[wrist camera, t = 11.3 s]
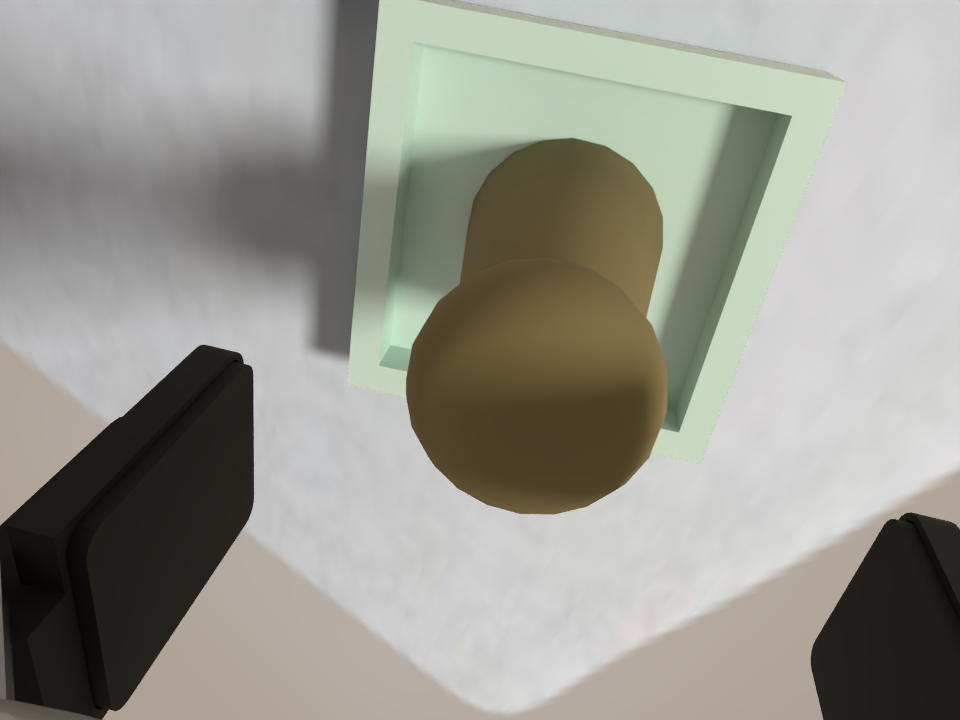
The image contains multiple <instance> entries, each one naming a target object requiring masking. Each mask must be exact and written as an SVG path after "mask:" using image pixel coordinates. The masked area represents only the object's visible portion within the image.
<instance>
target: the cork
mask: <svg viewBox="0 0 960 720" xmlns="http://www.w3.org/2000/svg"><path fill="white" fill-rule="evenodd" d="M662 249H663V216H662V213H661V210H660V207H659V204H658V201H657V198H656V195H655V192H654V189H653V187H652V186H651V185H650V184H649V182H648V181H647V180H646V179H645V177H644V176H643V175H642V174H641V172H640V171H639V170H638V169H637V167H636V166H635V165H634V164H633V163H632V162H630V161H629V160H627V159H626V158H624V157H623V156H621V155H620V154H618V153H616V152H615V151H613V150H612V149H610V148H609V147H607V146H604V145H600V144H596V143H592V142H588V141H584V140H580V139H576V138H569V139H556V140H543V141H540V142H537V143H535V144H532V145H530V146H528V147H525V148H523V149H521V150H518V151H516V152H513V153H512V154H510V155H509V156H508V157H507V158H506V159H505V160H504V161H502V162H501V163H500V164H499V165H498V166H497V167H496V168H494V169H493V170H492V171H491V172H490V173H489V174H488V176H487V177H486V179H485V181H484V182H483V184H482V186H481V188H480V189H479V191H478V193H477V194H476V196H475V198H474V200H473V205H472V210H471V214H470V219H469V224H468V229H467V236H466V243H465V250H464V257H463V264H462V271H461V278H460V284H459V285H458V286H456V287H455V288H454V289H453V290H451V291H450V292H449V293H448V294H446V295H445V296H444V297H443V298H441V299H440V300H439V301H438V302H437V304H436V305H435V307H434V309H433V310H432V312H431V314H430V315H429V317H428V319H427V320H426V322H425V324H424V325H423V327H422V329H421V330H420V332H419V334H418V335H417V337H416V339H415V341H414V342H413V344H412V349H411V355H410V360H409V366H408V371H407V377H406V398H407V403H408V409H409V414H410V420H411V425H412V428H413V430H414V432H415V434H416V435H417V437H418V439H419V441H420V443H421V444H422V446H423V448H424V450H425V452H426V453H427V455H428V457H429V458H430V460H431V461H432V463H433V464H434V466H435V467H436V468H437V469H438V470H439V471H440V472H442V473H443V474H444V475H445V476H446V477H447V478H448V479H449V480H450V481H451V482H452V483H453V484H454V485H455V486H456V487H457V488H458V489H460V490H462V491H463V492H465V493H467V494H469V495H471V496H472V497H474V498H476V499H478V500H479V501H481V502H483V503H485V504H487V505H490V506H493V507H497V508H501V509H505V510H508V511H512V512H516V513H519V514H558V513H562V512H566V511H570V510H574V509H578V508H583V507H587V506H589V505H590V504H592V503H594V502H596V501H597V500H599V499H601V498H603V497H604V496H606V495H608V494H610V493H611V492H613V491H615V490H616V489H618V488H620V487H621V486H623V485H624V484H626V483H627V481H628V480H629V479H630V478H631V477H632V476H633V475H634V474H635V473H636V472H637V470H638V469H639V468H640V467H641V466H642V465H643V464H644V463H645V462H646V461H647V459H648V458H649V456H650V454H651V451H652V449H653V446H654V444H655V441H656V439H657V436H658V434H659V431H660V429H661V426H662V424H663V421H664V418H665V416H666V413H667V368H666V362H665V358H664V356H663V353H662V350H661V348H660V345H659V342H658V340H657V337H656V334H655V332H654V329H653V326H652V324H651V323H650V322H649V321H648V320H647V318H646V317H647V312H648V308H649V304H650V300H651V295H652V291H653V287H654V283H655V279H656V274H657V270H658V266H659V262H660V258H661V253H662Z"/></svg>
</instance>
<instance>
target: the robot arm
mask: <svg viewBox="0 0 960 720" xmlns="http://www.w3.org/2000/svg"><path fill="white" fill-rule="evenodd" d="M253 502H254V427H253V370H252V367H251V366H250V365H246V364H244V362H243V358H242V355H241V354H239V353H237V352H233V351H229V350H225V349H220V348H216V347H212V346H208V345H200V346H199V347H197V348H196V349H195V350H194V351H193V352H191V353H190V354H189V355H188V356H187V357H186V358H185V359H184V360H183V361H182V362H181V363H180V364H179V365H178V366H176V367H175V368H174V369H173V370H172V371H171V372H170V373H169V374H168V375H167V376H166V377H165V378H164V379H163V380H161V381H160V382H159V383H158V384H157V385H156V386H155V387H154V388H153V389H152V390H151V391H150V392H149V393H148V394H146V395H145V396H144V397H143V398H142V399H141V400H140V401H139V402H138V403H137V404H136V405H135V406H134V407H133V408H131V409H130V410H129V411H128V412H127V413H126V414H125V415H124V416H123V417H119V418H118V419H116V420H115V421H114V422H112V423H111V424H110V425H109V426H107V427H106V428H105V429H104V430H103V431H102V432H101V433H100V434H99V435H98V436H97V437H96V438H95V439H93V440H92V441H91V442H90V443H89V444H88V445H87V446H86V447H85V448H84V449H83V450H82V451H80V453H78V454H77V455H76V456H75V457H74V458H73V459H72V460H71V461H70V462H69V463H68V464H67V465H66V466H64V467H63V468H62V469H61V470H60V471H59V472H58V473H57V474H56V475H55V476H53V477H52V478H51V479H50V480H49V481H48V482H47V483H46V484H45V485H44V486H43V487H42V488H40V489H39V490H38V491H37V492H36V493H35V494H34V495H33V496H32V497H31V498H30V499H29V500H27V501H26V502H25V503H24V504H23V505H22V506H21V507H20V508H19V509H18V510H17V511H16V512H15V513H13V514H12V515H11V516H10V517H9V518H8V519H7V520H6V521H5V522H4V523H3V524H2V525H1V526H0V720H102V719H103V717H104V716H105V714H106V713H107V711H108V710H109V709H110V710H113V711H117V710H119V709H121V708H122V707H123V706H124V705H125V704H126V702H127V701H128V700H129V698H130V697H131V695H132V694H133V692H134V691H135V689H136V688H137V686H138V685H139V683H140V682H141V680H142V678H143V677H144V676H145V674H146V673H147V671H148V670H149V668H150V667H151V665H152V664H153V662H154V661H155V659H156V658H157V656H158V655H159V653H160V651H161V650H162V649H163V647H164V645H165V644H166V643H167V641H168V640H169V638H170V636H171V635H172V634H173V632H174V631H175V629H176V628H177V626H178V625H179V623H180V621H181V620H182V619H183V617H184V616H185V614H186V613H187V611H188V610H189V608H190V607H191V605H192V604H193V602H194V601H195V599H196V598H197V596H198V595H199V593H200V592H201V590H202V589H203V587H204V585H205V584H206V583H207V581H208V580H209V578H210V577H211V575H212V574H213V572H214V571H215V569H216V567H217V566H218V565H219V563H220V562H221V560H222V559H223V557H224V556H225V554H226V553H227V551H228V550H229V548H230V547H231V545H232V544H233V542H234V541H235V539H236V538H237V536H238V535H239V533H240V532H241V530H242V529H243V527H244V526H245V524H246V523H247V521H248V519H249V517H250V514H251V511H252V508H253ZM811 668H812V673H813V677H814V681H815V685H816V690H817V694H818V697H819V702H820V707H821V711H822V715H823V720H960V529H959V528H958V527H957V526H956V524H954V523H952V522H949V521H945V520H940V519H936V518H932V517H928V516H924V515H919V514H915V513H906V514H904V515H903V516H901V517H900V519H899V520H896V519H890V520H889V521H887V522H886V524H885V525H884V526H883V528H882V530H881V531H880V533H879V535H878V536H877V538H876V540H875V541H874V543H873V545H872V546H871V548H870V550H869V551H868V553H867V555H866V556H865V558H864V560H863V562H862V563H861V565H860V566H859V568H858V570H857V571H856V573H855V575H854V577H853V578H852V580H851V582H850V583H849V585H848V587H847V589H846V590H845V592H844V593H843V595H842V597H841V598H840V600H839V602H838V603H837V605H836V607H835V609H834V610H833V612H832V613H831V615H830V617H829V618H828V620H827V622H826V624H825V625H824V627H823V629H822V630H821V632H820V634H819V635H818V637H817V639H816V640H815V643H814V645H813V648H812V653H811Z"/></svg>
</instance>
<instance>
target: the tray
mask: <svg viewBox="0 0 960 720" xmlns="http://www.w3.org/2000/svg"><path fill="white" fill-rule="evenodd" d="M846 85H847V82H845V81H843V80H841V79H840V78H838V77H836V76H834V75H832V74H830V73H828V72H826V71H821V70H816V69H810V68H805V67H800V66H795V65H789V64H784V63H779V62H774V61H768V60H763V59H758V58H753V57H748V56H742V55H737V54H732V53H727V52H721V51H716V50H711V49H706V48H700V47H695V46H690V45H685V44H679V43H674V42H669V41H664V40H658V39H653V38H648V37H643V36H637V35H632V34H627V33H622V32H617V31H611V30H606V29H601V28H596V27H590V26H585V25H580V24H575V23H569V22H564V21H559V20H554V19H548V18H543V17H538V16H533V15H527V14H522V13H517V12H512V11H507V10H501V9H496V8H491V7H486V6H480V5H475V4H470V3H465V2H459V1H454V0H379V10H378V22H377V34H376V46H375V57H374V69H373V81H372V93H371V105H370V117H369V129H368V141H367V153H366V165H365V177H364V189H363V200H362V212H361V224H360V236H359V248H358V260H357V272H356V284H355V296H354V308H353V320H352V332H351V343H350V355H349V367H348V379H347V384H348V385H353V386H357V387H361V388H366V389H370V390H375V391H379V392H384V393H388V394H392V395H397V396H401V397H406V377H407V371H408V366H409V360H410V355H411V349H412V344H413V342H414V341H415V339H416V337H417V335H418V334H419V332H420V330H421V329H422V327H423V325H424V324H425V322H426V320H427V319H428V317H429V315H430V314H431V312H432V310H433V309H434V307H435V305H436V304H437V302H438V301H439V300H440V299H441V298H443V297H444V296H445V295H446V294H448V293H449V292H450V291H451V290H453V289H454V288H455V287H456V286H458V285H459V284H460V278H461V271H462V264H463V257H464V250H465V243H466V236H467V229H468V224H469V219H470V214H471V210H472V205H473V200H474V198H475V196H476V194H477V193H478V191H479V189H480V188H481V186H482V184H483V182H484V181H485V179H486V177H487V176H488V174H489V173H490V172H491V171H492V170H493V169H494V168H496V167H497V166H498V165H499V164H500V163H501V162H502V161H504V160H505V159H506V158H507V157H508V156H509V155H510V154H512V153H513V152H516V151H518V150H521V149H523V148H525V147H528V146H530V145H532V144H535V143H537V142H540V141H543V140H556V139H569V138H576V139H580V140H584V141H588V142H592V143H596V144H600V145H604V146H607V147H609V148H610V149H612V150H613V151H615V152H616V153H618V154H620V155H621V156H623V157H624V158H626V159H627V160H629V161H630V162H632V163H633V164H634V165H635V166H636V167H637V169H638V170H639V171H640V172H641V174H642V175H643V176H644V177H645V179H646V180H647V181H648V182H649V184H650V185H651V186H652V187H653V189H654V192H655V195H656V198H657V201H658V204H659V207H660V210H661V213H662V216H663V249H662V253H661V258H660V262H659V266H658V270H657V274H656V279H655V283H654V287H653V291H652V295H651V300H650V304H649V308H648V312H647V317H646V318H647V320H648V321H649V322H650V323H651V324H652V326H653V329H654V332H655V334H656V337H657V340H658V342H659V345H660V348H661V350H662V353H663V356H664V358H665V362H666V368H667V413H666V416H665V418H664V421H663V424H662V426H661V429H660V431H659V434H658V436H657V439H656V441H655V444H654V446H653V449H652V451H651V453H654V454H658V455H662V456H667V457H671V458H676V459H680V460H684V461H689V462H693V463H698V464H701V461H702V459H703V456H704V453H705V451H706V448H707V446H708V443H709V440H710V438H711V435H712V433H713V430H714V427H715V425H716V422H717V420H718V417H719V415H720V412H721V409H722V407H723V404H724V402H725V399H726V396H727V394H728V391H729V389H730V386H731V383H732V381H733V378H734V376H735V373H736V370H737V368H738V365H739V363H740V360H741V357H742V355H743V352H744V350H745V347H746V344H747V342H748V339H749V337H750V334H751V332H752V329H753V326H754V324H755V321H756V319H757V316H758V313H759V311H760V308H761V306H762V303H763V300H764V298H765V295H766V293H767V290H768V287H769V285H770V282H771V280H772V277H773V274H774V272H775V269H776V267H777V264H778V261H779V259H780V256H781V254H782V251H783V249H784V246H785V243H786V241H787V238H788V236H789V233H790V230H791V228H792V225H793V223H794V220H795V217H796V215H797V212H798V210H799V207H800V204H801V202H802V199H803V197H804V194H805V191H806V189H807V186H808V184H809V181H810V178H811V176H812V173H813V171H814V168H815V166H816V163H817V160H818V158H819V155H820V153H821V150H822V147H823V145H824V142H825V140H826V137H827V134H828V132H829V129H830V127H831V124H832V121H833V119H834V116H835V114H836V111H837V108H838V106H839V103H840V101H841V98H842V95H843V93H844V90H845V88H846Z"/></svg>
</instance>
